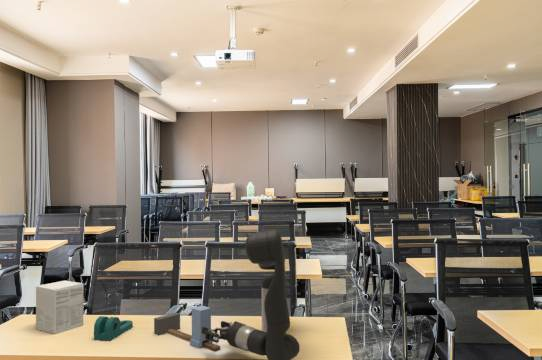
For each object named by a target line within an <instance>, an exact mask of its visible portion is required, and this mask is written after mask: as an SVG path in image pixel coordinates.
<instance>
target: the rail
mask: <svg viewBox="0 0 542 360" xmlns="http://www.w3.org/2000/svg"><path fill="white" fill-rule="evenodd" d="M166 334H168V335H171V336H174V337H176V338H179V339H182V340H184V341H186V342H189V343H190V339H192V334H189V333H187V332H186V333H185V332H183V331H180V330H179V329H178V330H175V329H173V328H172V329H168V330H167V333H166ZM201 348H205V349H207V350H210V351H213V352H218V351H221V345H218V344H216V343H211V342H208V341H203V342H202V347H201Z"/></svg>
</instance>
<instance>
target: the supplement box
mask: <svg viewBox="0 0 542 360" xmlns="http://www.w3.org/2000/svg"><path fill="white" fill-rule="evenodd" d="M81 326H84V282H83V283H82V282H76V281H70V280H65V279H64V280H60V281H56V282H51V283H45V284H40V285H36V286H35V330H39V331H42V332H46V333H50V334H52V335H56V334H58V333H62V332H66V331H69V330H72V329H75V328H78V327H81Z"/></svg>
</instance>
